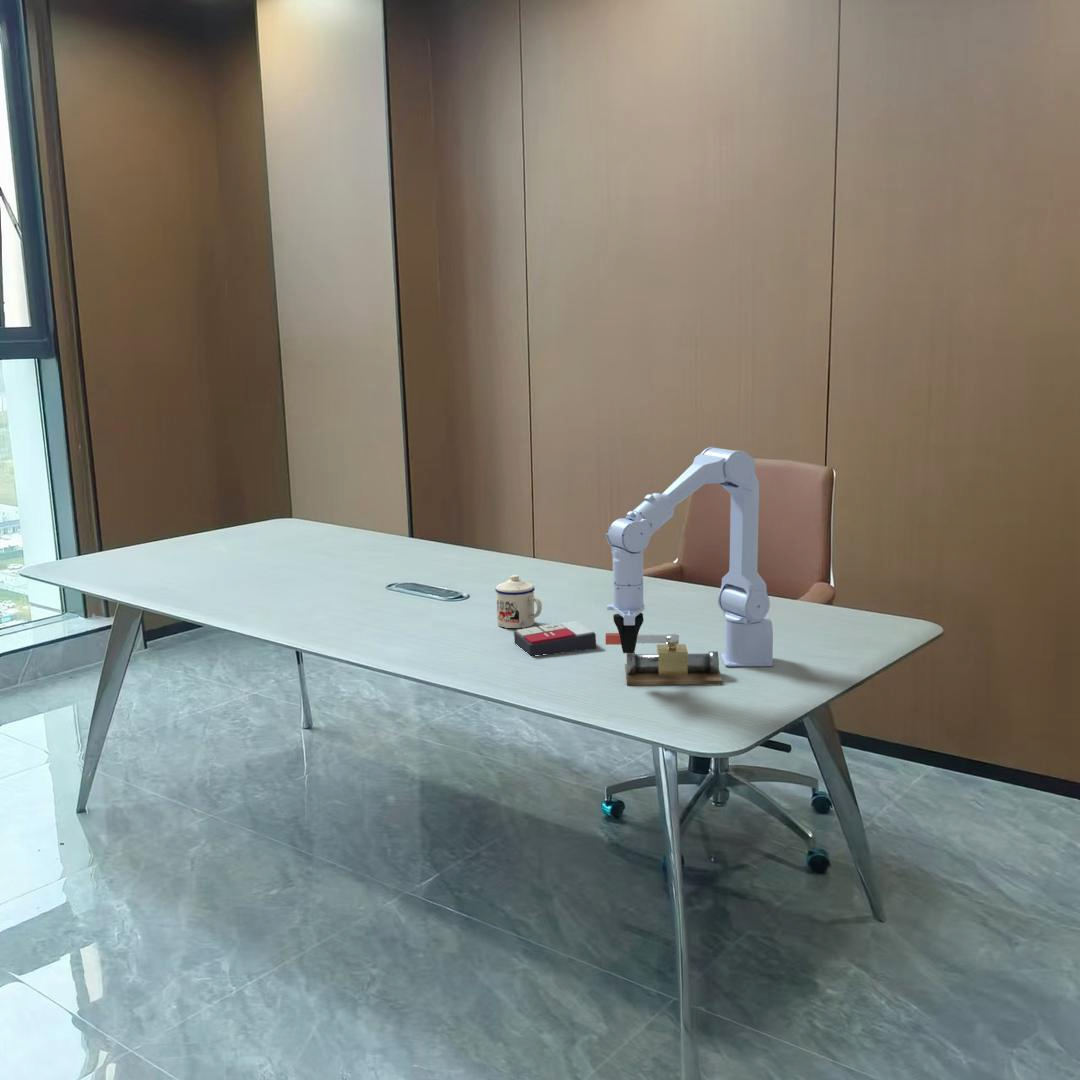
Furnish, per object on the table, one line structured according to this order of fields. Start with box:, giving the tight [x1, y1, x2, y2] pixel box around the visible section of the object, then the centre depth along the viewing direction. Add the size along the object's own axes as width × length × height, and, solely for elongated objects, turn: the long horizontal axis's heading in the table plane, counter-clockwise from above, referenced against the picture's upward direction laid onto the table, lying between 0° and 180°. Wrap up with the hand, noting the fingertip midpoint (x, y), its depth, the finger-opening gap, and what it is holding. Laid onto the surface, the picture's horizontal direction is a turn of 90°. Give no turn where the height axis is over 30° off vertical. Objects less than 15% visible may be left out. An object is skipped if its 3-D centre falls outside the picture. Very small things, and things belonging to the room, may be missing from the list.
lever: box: [605, 632, 680, 646], centre depth 208 cm, size 3×14×2 cm, turn 85°
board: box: [624, 663, 723, 686], centre depth 209 cm, size 18×11×1 cm, turn 88°
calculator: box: [513, 620, 597, 657], centre depth 231 cm, size 11×4×15 cm
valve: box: [626, 643, 720, 676], centre depth 209 cm, size 18×5×6 cm, turn 87°
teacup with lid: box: [495, 574, 543, 629], centre depth 247 cm, size 12×9×12 cm
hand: (628, 652), depth 203 cm, fingers closed
